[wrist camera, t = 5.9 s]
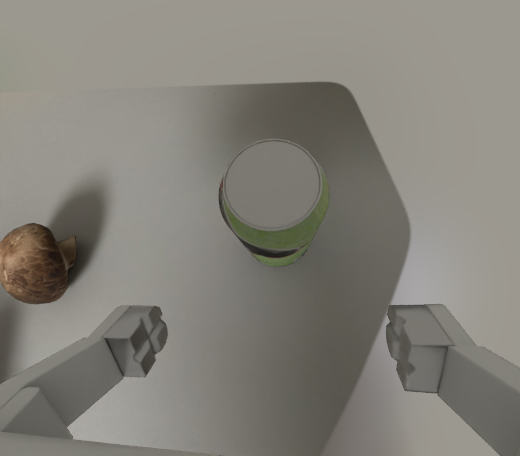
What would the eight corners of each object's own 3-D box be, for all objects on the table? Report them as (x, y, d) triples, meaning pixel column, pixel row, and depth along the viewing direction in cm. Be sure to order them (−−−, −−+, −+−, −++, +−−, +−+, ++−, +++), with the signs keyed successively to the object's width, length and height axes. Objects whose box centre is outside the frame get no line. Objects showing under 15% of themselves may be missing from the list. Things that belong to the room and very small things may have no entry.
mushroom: (76, 202, 25) (-9, 211, 20) (111, 272, 25) (34, 301, 20) (50, 234, 29) (-28, 249, 24) (80, 295, 29) (8, 324, 24)
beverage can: (278, 197, 25) (255, 94, 14) (337, 244, 22) (364, 162, 11) (233, 240, 24) (170, 167, 13) (288, 296, 21) (265, 260, 10)
